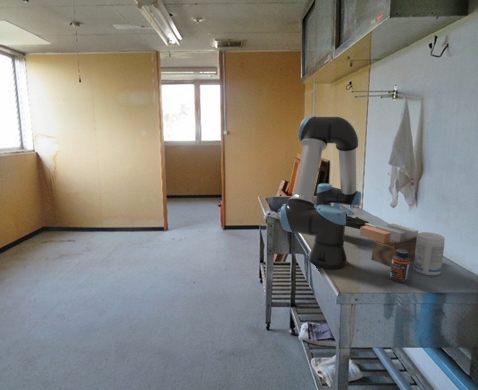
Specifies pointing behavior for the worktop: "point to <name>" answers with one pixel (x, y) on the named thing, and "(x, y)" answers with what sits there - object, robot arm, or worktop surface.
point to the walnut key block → (392, 250)
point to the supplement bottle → (400, 266)
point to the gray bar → (393, 233)
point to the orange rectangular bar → (375, 234)
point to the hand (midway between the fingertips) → (377, 229)
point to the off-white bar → (409, 231)
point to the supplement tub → (429, 253)
